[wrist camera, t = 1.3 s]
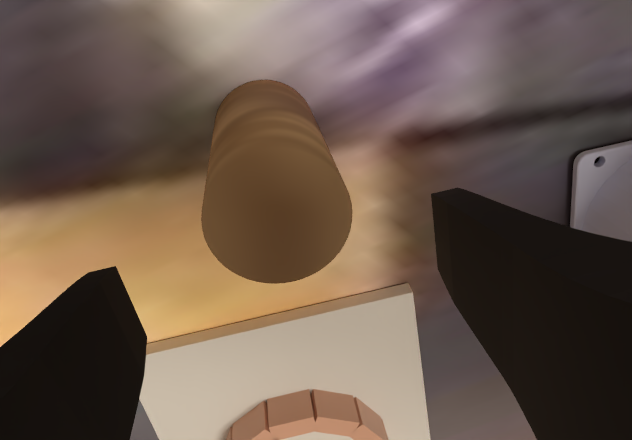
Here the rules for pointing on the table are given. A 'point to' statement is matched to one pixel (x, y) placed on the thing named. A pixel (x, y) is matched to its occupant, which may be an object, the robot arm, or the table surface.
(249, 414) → the collar
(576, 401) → the robot arm
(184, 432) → the socket board
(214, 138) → the wooden peg
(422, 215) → the table surface
